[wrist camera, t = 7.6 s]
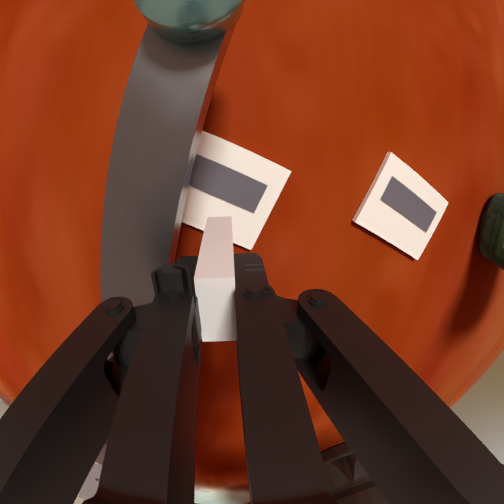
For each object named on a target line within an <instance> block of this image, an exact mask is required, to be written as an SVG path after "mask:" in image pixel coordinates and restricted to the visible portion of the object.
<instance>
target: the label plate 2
mask: <svg viewBox="0 0 504 504" xmlns="http://www.w3.org/2000/svg"><path fill="white" fill-rule="evenodd" d="M447 205H448V202H447V201H446V200H445V199H444V198H443V197H442V196H441V195H440V194H439V193H438V192H437V191H436V190H435V189H434V188H433V187H432V186H430V185H429V184H428V183H427V182H426V181H425V180H424V179H423V178H422V177H420V176H419V175H418V174H417V173H416V172H415V171H414V170H412V169H411V168H410V167H409V166H408V165H406V164H405V163H404V162H403V161H402V160H400V159H399V158H398V157H397V156H395V155H394V154H393V153H392V152H387V154H386V156H385V158H384V160H383V162H382V164H381V166H380V168H379V170H378V172H377V174H376V176H375V178H374V180H373V182H372V184H371V186H370V188H369V190H368V192H367V193H366V195H365V197H364V199H363V201H362V203H361V205H360V207H359V208H358V210H357V212H356V214H355V216H354V217H353V219H352V220H353V221H354V222H355V223H357V224H359V225H361V226H362V227H364V228H366V229H368V230H369V231H371V232H373V233H374V234H376V235H378V236H379V237H381V238H383V239H384V240H386V241H388V242H389V243H391V244H393V245H394V246H396V247H398V248H399V249H401V250H402V251H404V252H406V253H407V254H409V255H410V256H412V257H413V258H415V259H416V260H418V259H419V257H420V256H421V254H422V252H423V250H424V249H425V247H426V245H427V243H428V242H429V240H430V238H431V236H432V234H433V232H434V231H435V229H436V227H437V225H438V223H439V221H440V219H441V217H442V215H443V213H444V211H445V209H446V207H447Z"/></svg>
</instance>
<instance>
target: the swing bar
mask: <svg viewBox="0 0 504 504" xmlns="http://www.w3.org/2000/svg"><path fill="white" fill-rule="evenodd" d="M134 1H135V4H136V5H137V7H138V9H139V10H140V12H141V13H142V14H143V16H144V17H145V19H146V20H147V22H148V26H147V28H146V31H145V33H144V36H143V38H142V41H141V43H140V46H139V49H138V52H137V55H136V57H135V60H134V63H133V66H132V69H131V73H130V76H129V79H128V83H127V86H126V89H125V93H124V97H123V100H122V104H121V108H120V112H119V117H118V121H117V125H116V130H115V135H114V140H113V145H112V150H111V156H110V162H109V169H108V175H107V183H106V191H105V200H104V210H103V222H102V237H101V303H102V302H103V301H105V300H107V299H109V298H111V297H126V298H129V299H130V300H131V301H132V303H133V307H135V306H140V305H145V304H149V303H151V302H152V301H153V299H154V296H155V293H154V288H153V283H152V278H151V272H152V271H153V270H154V269H156V268H158V267H160V266H163V265H167V264H174V263H175V257H176V251H177V245H178V239H179V233H180V228H181V223H182V217H183V212H184V207H185V202H186V198H187V193H188V188H189V183H190V179H191V175H192V170H193V166H194V162H195V157H196V153H197V149H198V145H199V141H200V137H201V133H202V130H203V126H204V122H205V119H206V115H207V111H208V108H209V104H210V101H211V97H212V94H213V91H214V87H215V84H216V81H217V78H218V74H219V71H220V68H221V65H222V62H223V59H224V56H225V53H226V50H227V47H228V44H229V42H230V39H231V36H232V33H233V30H234V28H235V25H236V22H237V21H238V19H239V18H240V16H241V14H242V11H243V7H244V2H245V0H134ZM112 356H113V354H112V352H111V353H110V355H109V356H108V357H107V359H108V360H109V359H110V358H111V357H112Z"/></svg>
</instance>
